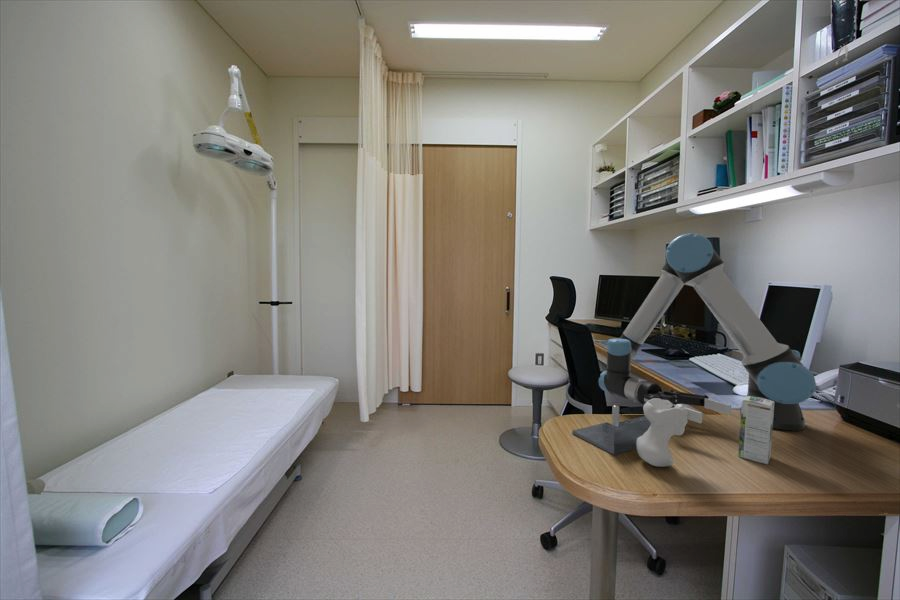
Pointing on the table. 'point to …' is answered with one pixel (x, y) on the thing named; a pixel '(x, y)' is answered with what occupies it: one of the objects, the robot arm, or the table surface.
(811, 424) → the table surface
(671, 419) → the white sculpture
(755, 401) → the syrup box
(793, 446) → the table surface
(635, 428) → the grey piece
